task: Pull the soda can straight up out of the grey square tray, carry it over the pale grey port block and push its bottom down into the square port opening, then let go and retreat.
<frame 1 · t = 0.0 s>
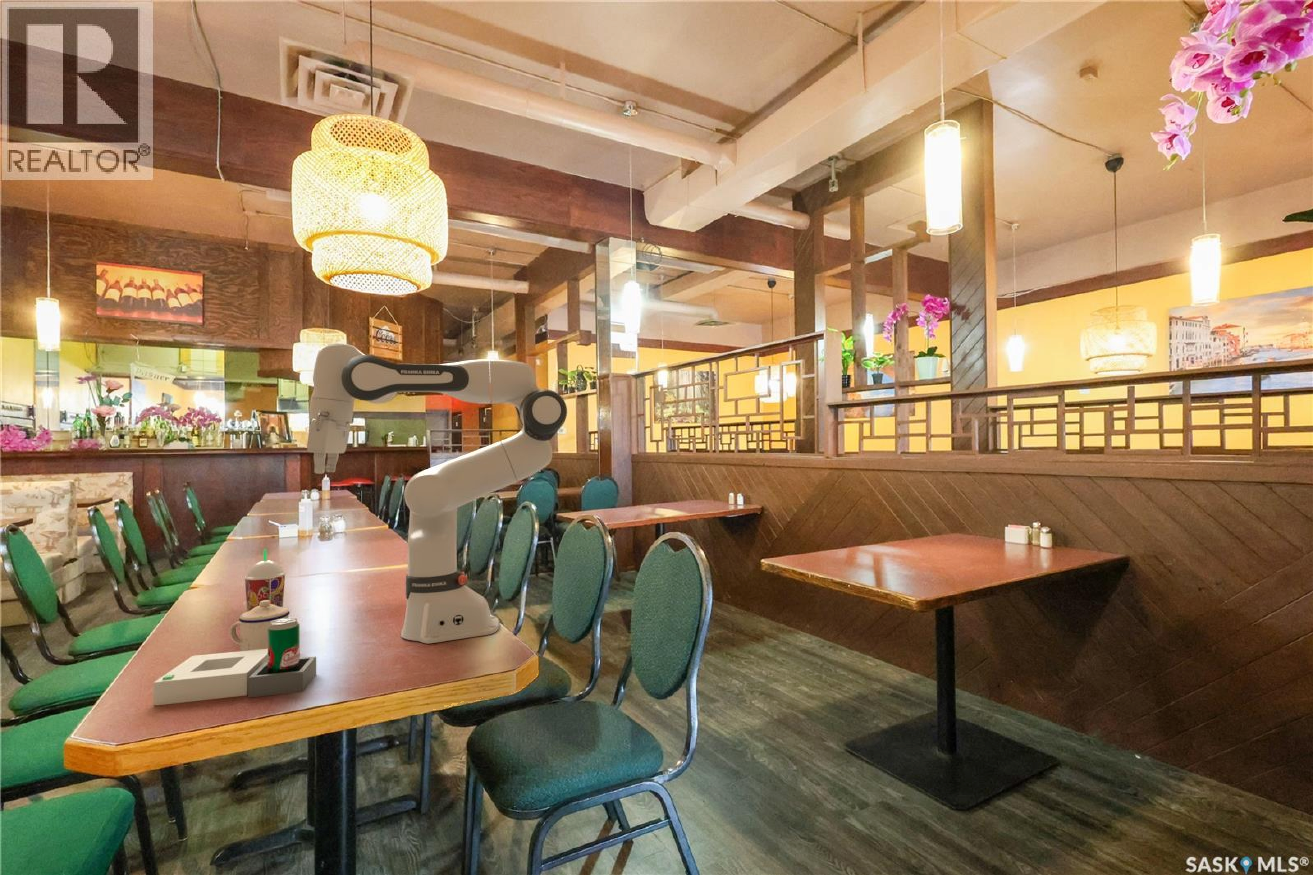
hand: (324, 472, 137), 39 cm above the table, tool pointing down, fingers open, 8 cm apart
smoothie: (265, 631, 146), on the table
teacup with lid: (258, 656, 128), on the table
port: (218, 685, 111), on the table
soda can: (283, 686, 111), resting in grey square tray
grey square tray: (283, 685, 111), on the table
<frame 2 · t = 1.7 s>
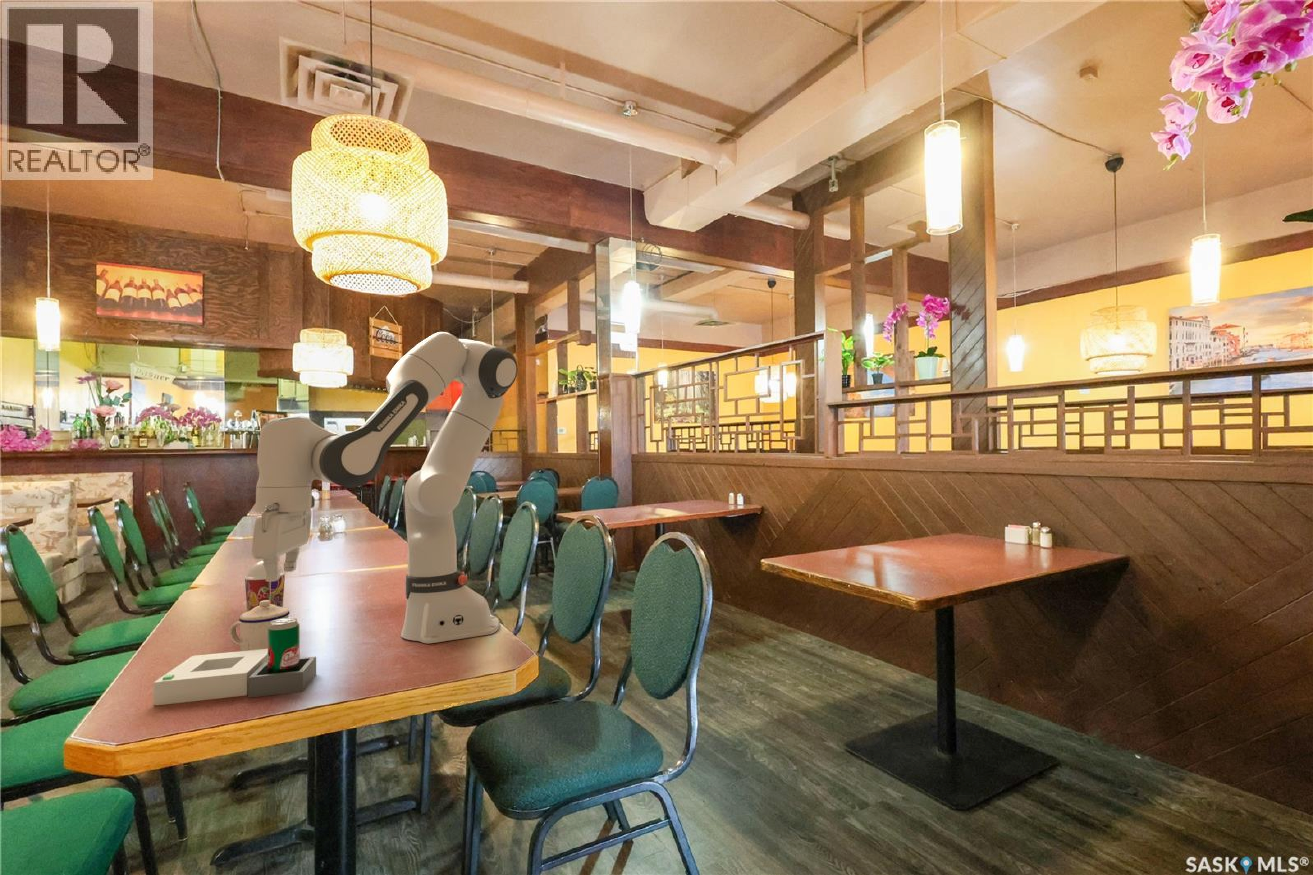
hand: (281, 575, 111), 20 cm above the table, tool pointing down, fingers open, 8 cm apart
nothing on the table moved.
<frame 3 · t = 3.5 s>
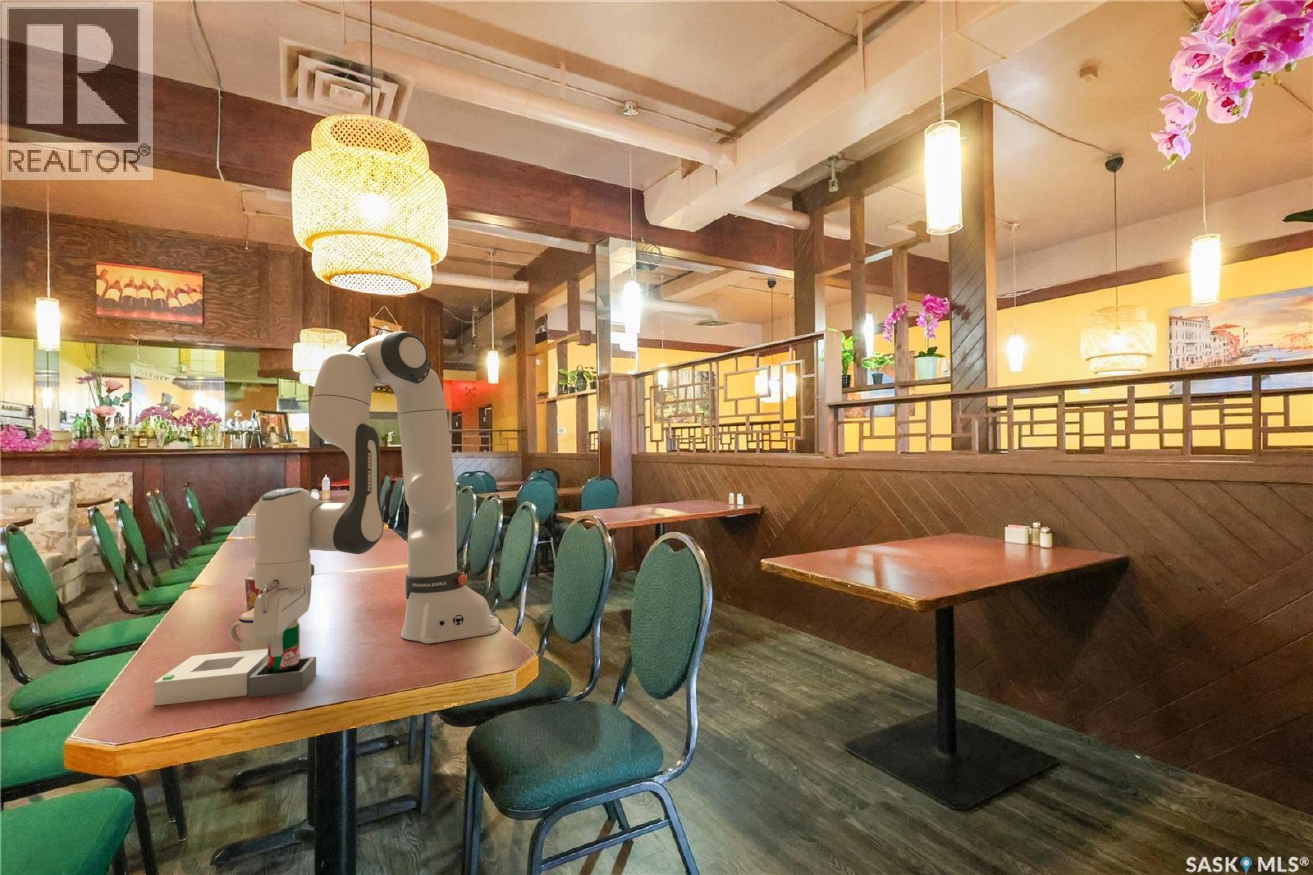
hand: (283, 649, 111), 7 cm above the table, tool pointing down, fingers closed on soda can, 5 cm apart
soda can: (283, 686, 111), resting in grey square tray, touching gripper
everything else where it was.
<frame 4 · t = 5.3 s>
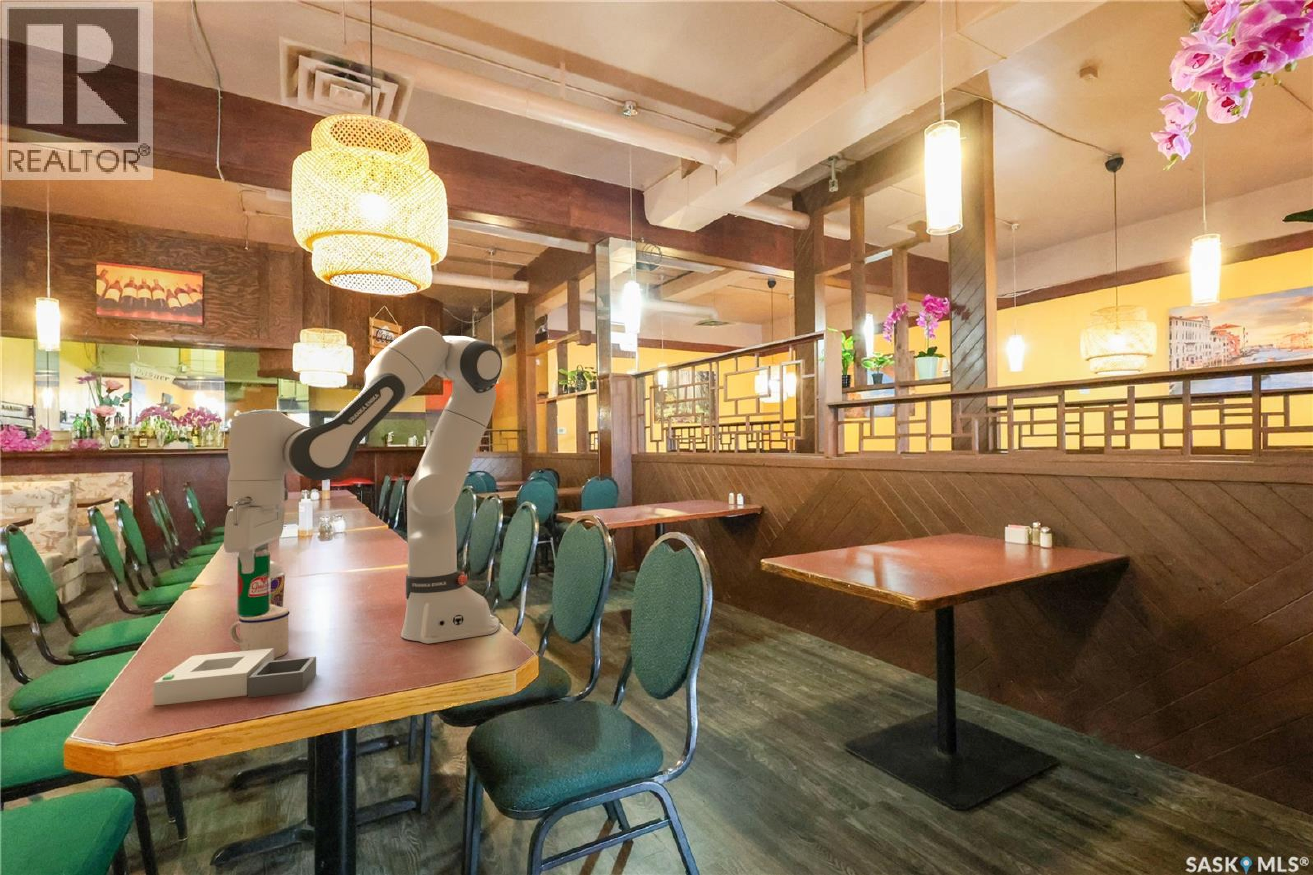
hand: (254, 569, 111), 22 cm above the table, tool pointing down, fingers closed on soda can, 5 cm apart
soda can: (253, 615, 111), point 13 cm above the table, touching gripper
everything else where it was.
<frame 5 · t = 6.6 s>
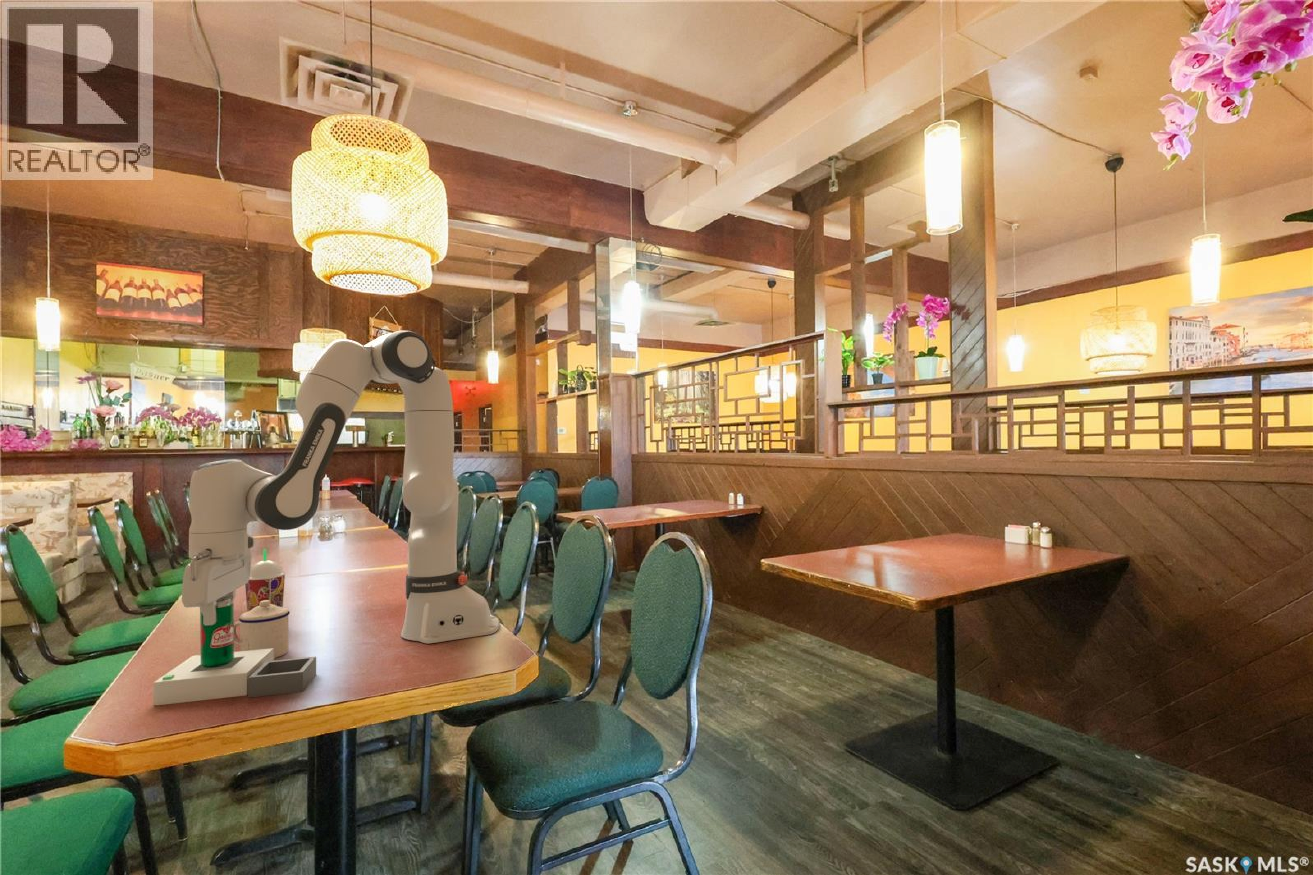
hand: (218, 619, 111), 12 cm above the table, tool pointing down, fingers closed on soda can, 5 cm apart
soda can: (217, 665, 111), point 4 cm above the table, touching gripper
everything else where it was.
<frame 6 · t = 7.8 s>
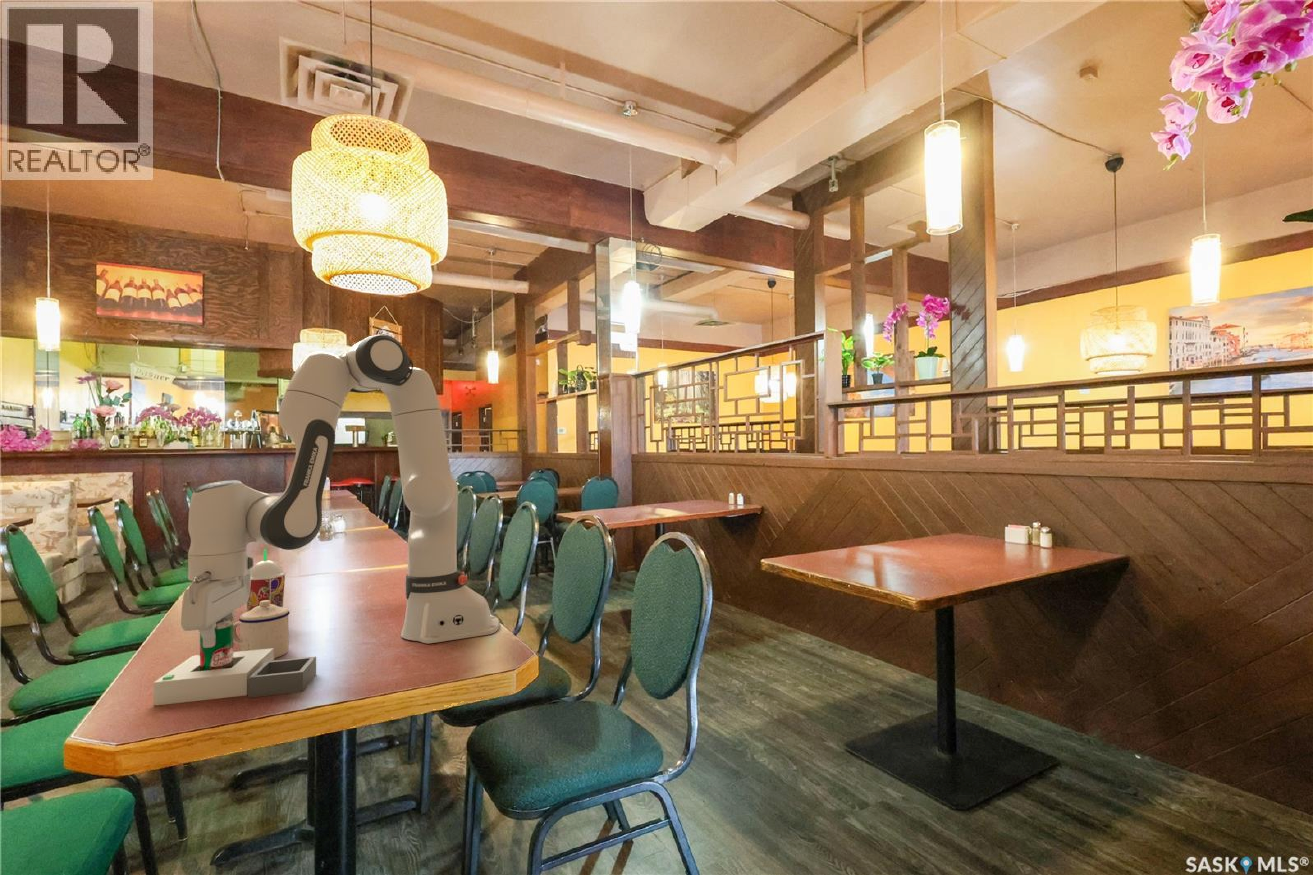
hand: (217, 641, 111), 8 cm above the table, tool pointing down, fingers closed on soda can, 5 cm apart
soda can: (217, 686, 111), resting in port, touching gripper
everything else where it was.
when the fingers open (8 cm above the table, at t = 7.9 s): soda can stays where it is, resting in port.
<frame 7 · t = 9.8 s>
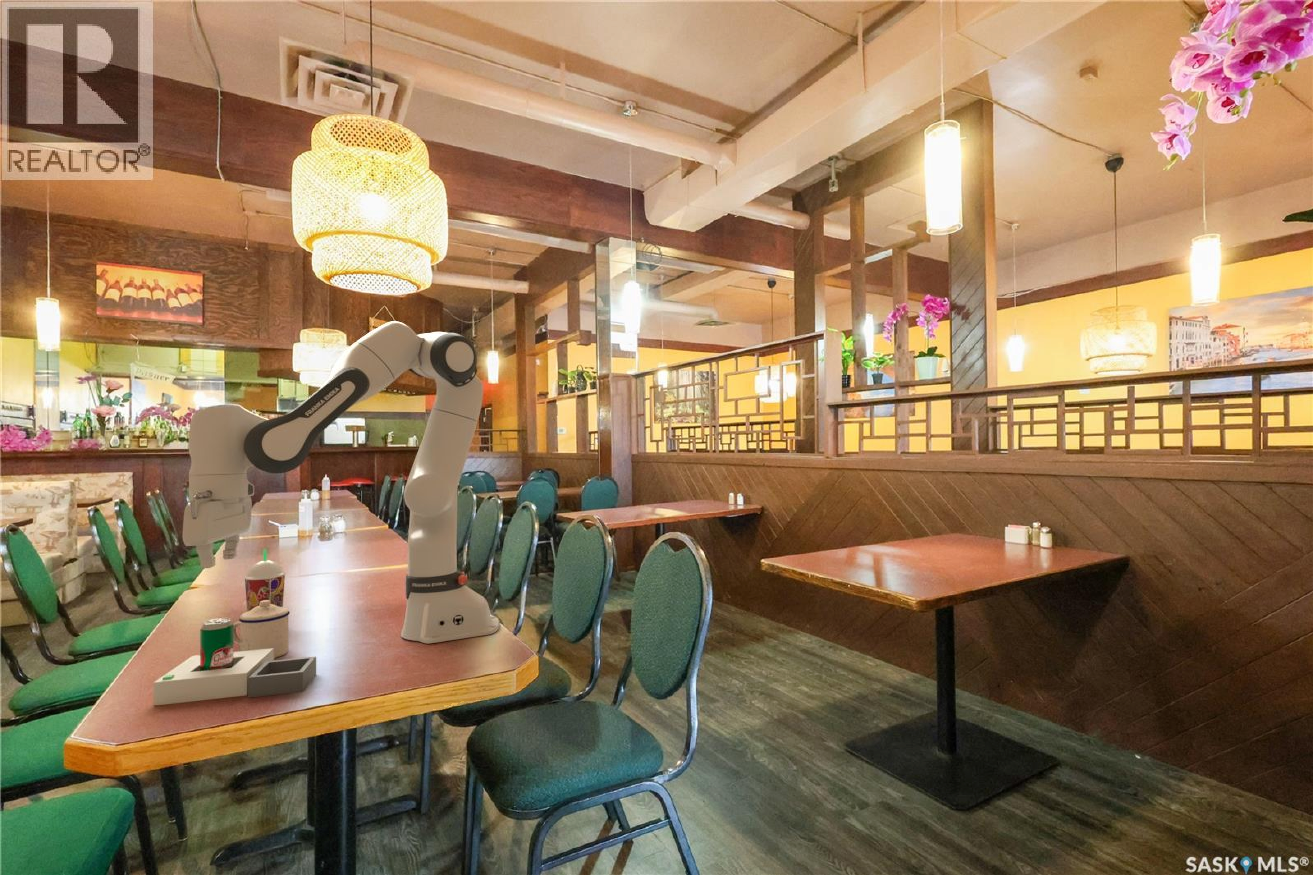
hand: (219, 563, 112), 23 cm above the table, tool pointing down, fingers open, 8 cm apart
soda can: (217, 686, 111), resting in port
everything else where it was.
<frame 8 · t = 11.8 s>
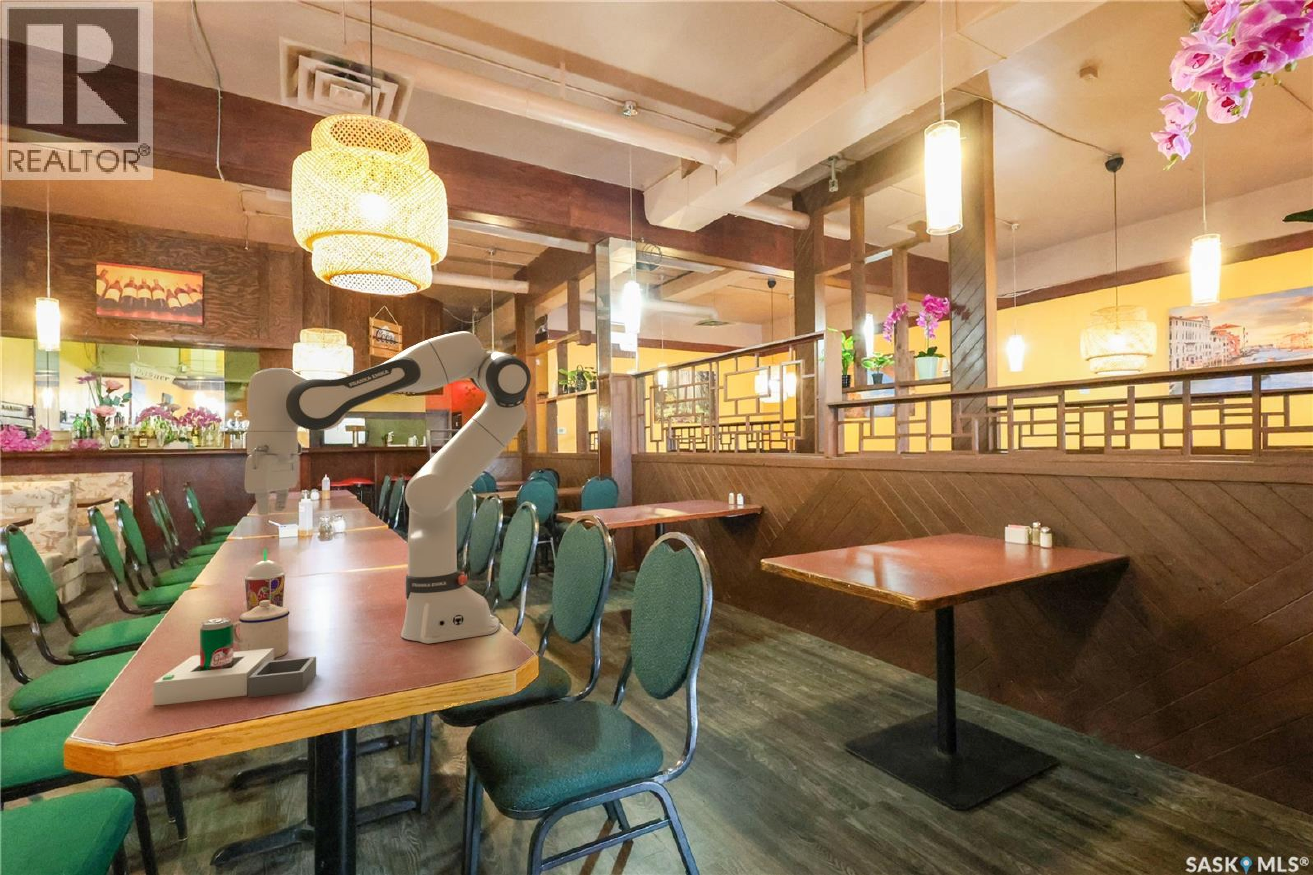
hand: (272, 512, 123), 31 cm above the table, tool pointing down, fingers open, 8 cm apart
nothing on the table moved.
at the end: soda can 0.4 cm off-centre on the port, point 0.0 cm above the port's base; soda can tilted 0°; the gripper is holding nothing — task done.
